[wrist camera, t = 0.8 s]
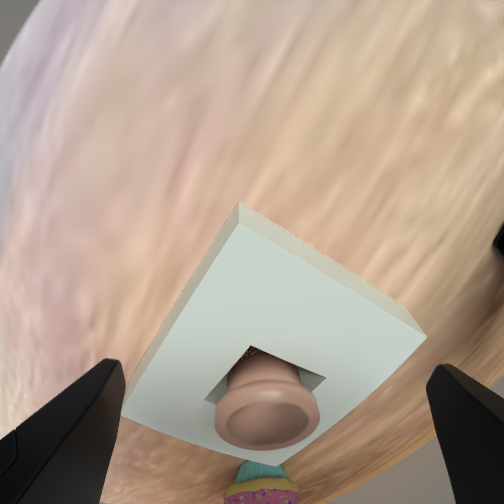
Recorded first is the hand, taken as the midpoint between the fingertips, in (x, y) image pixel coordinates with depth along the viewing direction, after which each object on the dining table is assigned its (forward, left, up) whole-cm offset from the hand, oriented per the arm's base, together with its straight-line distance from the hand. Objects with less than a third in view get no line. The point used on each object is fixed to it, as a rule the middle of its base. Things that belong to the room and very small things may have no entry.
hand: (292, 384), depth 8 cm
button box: (-6, +9, -13) cm, 16 cm away
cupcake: (-16, +25, -13) cm, 32 cm away
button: (-6, +9, -10) cm, 14 cm away
